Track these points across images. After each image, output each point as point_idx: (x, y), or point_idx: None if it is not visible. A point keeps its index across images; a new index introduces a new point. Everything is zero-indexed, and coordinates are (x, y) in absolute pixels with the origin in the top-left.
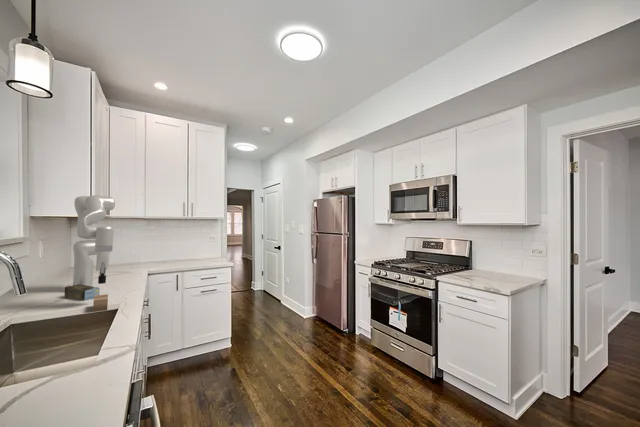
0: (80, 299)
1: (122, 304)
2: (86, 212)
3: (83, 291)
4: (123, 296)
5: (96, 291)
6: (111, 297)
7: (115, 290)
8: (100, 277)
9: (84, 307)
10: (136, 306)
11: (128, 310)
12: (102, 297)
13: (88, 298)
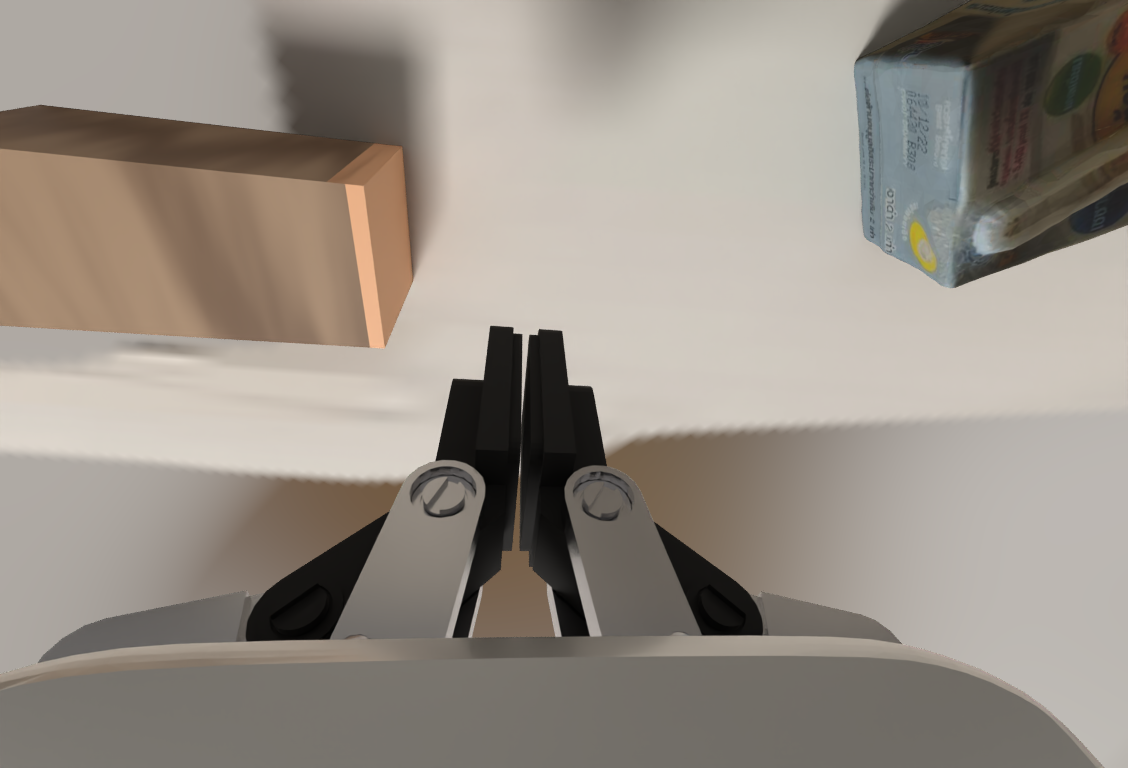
0: (967, 3)
1: (345, 389)
2: None
3: (999, 40)
4: (699, 420)
5: (918, 236)
6: (748, 339)
7: (1044, 390)
8: (439, 459)
9: (389, 18)
10: (208, 460)
11: (57, 406)
12: (140, 274)
13: (869, 114)
